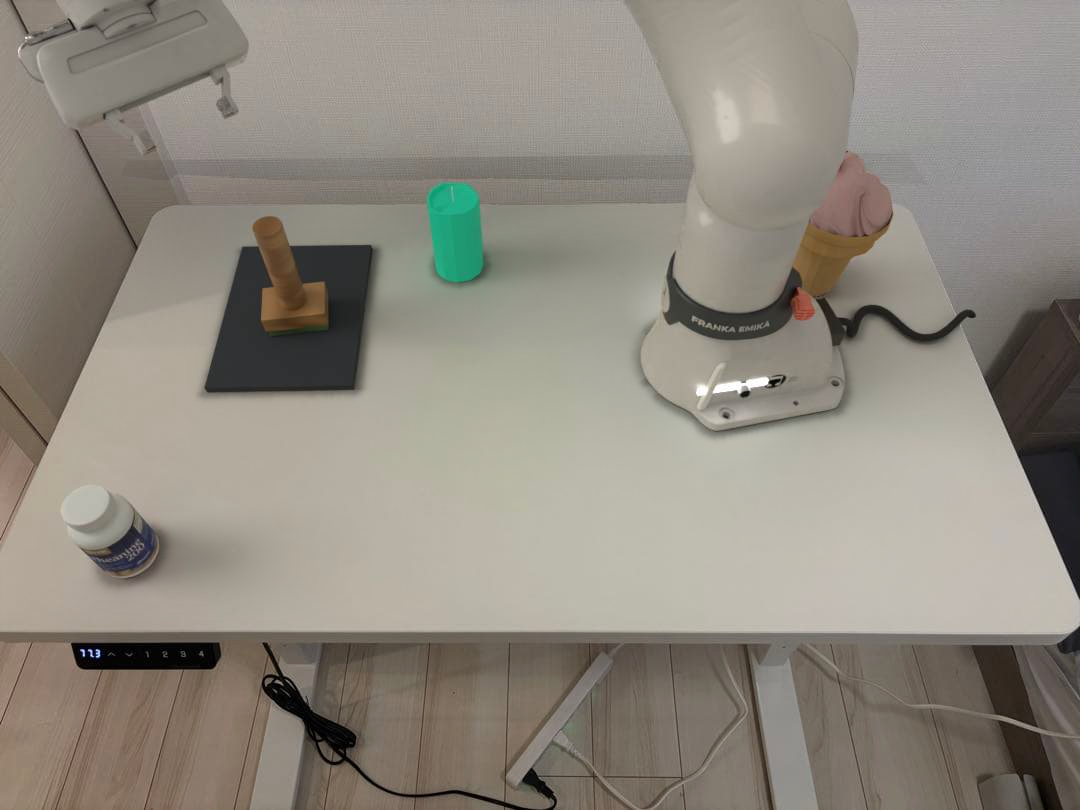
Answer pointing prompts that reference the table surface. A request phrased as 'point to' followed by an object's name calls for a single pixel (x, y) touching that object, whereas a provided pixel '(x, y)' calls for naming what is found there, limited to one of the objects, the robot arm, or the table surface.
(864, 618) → the table surface
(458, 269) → the candle
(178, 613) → the table surface
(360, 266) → the mat
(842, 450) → the table surface
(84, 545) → the pill bottle
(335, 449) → the table surface
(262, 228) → the wooden stamp
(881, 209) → the ice cream cone
